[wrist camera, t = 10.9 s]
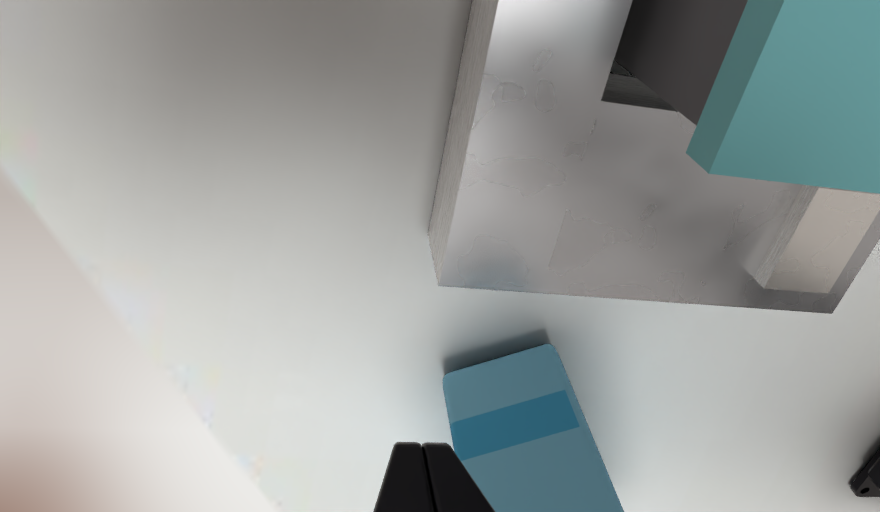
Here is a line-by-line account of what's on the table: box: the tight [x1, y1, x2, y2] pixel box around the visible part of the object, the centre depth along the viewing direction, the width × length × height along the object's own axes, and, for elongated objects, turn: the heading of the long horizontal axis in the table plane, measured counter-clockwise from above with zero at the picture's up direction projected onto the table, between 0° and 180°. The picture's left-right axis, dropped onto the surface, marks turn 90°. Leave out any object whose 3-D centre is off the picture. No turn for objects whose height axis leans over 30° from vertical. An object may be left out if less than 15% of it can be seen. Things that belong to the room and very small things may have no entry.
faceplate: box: [428, 0, 880, 314], centre depth 18 cm, size 14×14×4 cm
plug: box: [614, 0, 880, 194], centre depth 15 cm, size 5×5×8 cm
